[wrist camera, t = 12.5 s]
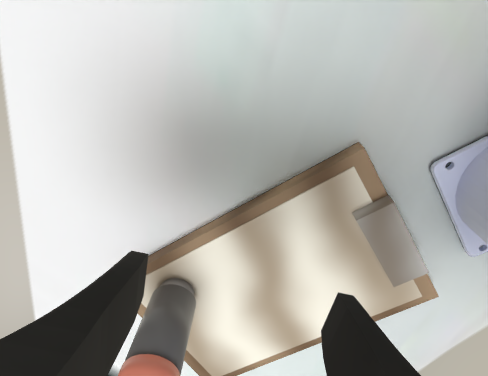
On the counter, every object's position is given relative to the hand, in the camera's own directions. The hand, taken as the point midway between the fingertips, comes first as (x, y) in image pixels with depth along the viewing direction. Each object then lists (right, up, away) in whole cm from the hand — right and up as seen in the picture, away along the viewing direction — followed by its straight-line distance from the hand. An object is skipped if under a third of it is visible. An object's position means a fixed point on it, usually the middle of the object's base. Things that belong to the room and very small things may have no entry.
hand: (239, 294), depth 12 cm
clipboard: (+2, -3, +13) cm, 13 cm away
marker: (-5, -4, +12) cm, 13 cm away
